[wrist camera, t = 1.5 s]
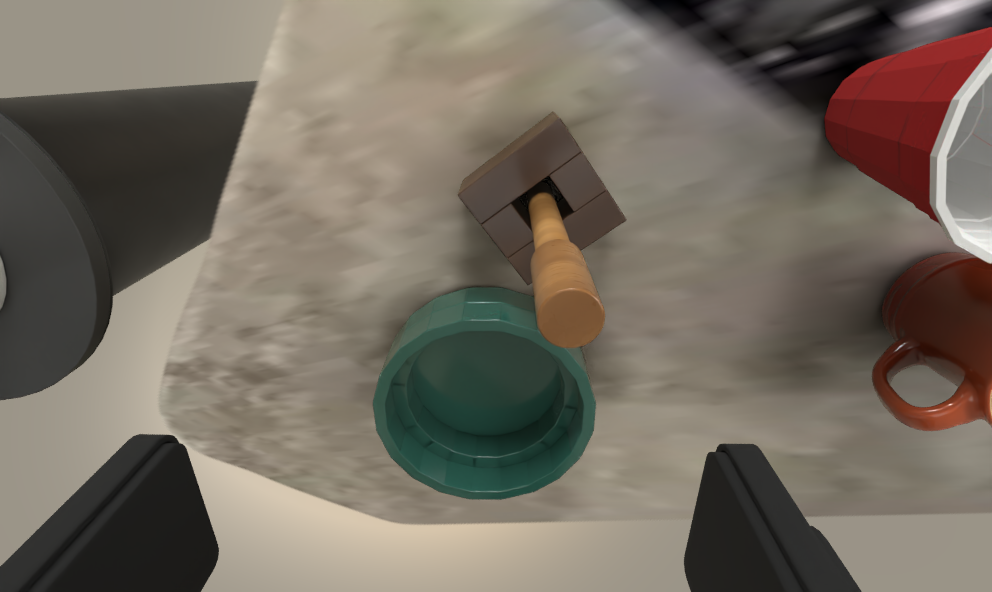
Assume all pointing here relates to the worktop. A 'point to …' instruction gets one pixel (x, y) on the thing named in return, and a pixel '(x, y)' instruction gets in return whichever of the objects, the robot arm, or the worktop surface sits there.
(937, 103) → the plastic cup
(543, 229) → the stick
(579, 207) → the holder
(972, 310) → the mug
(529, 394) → the bowl
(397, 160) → the worktop surface
